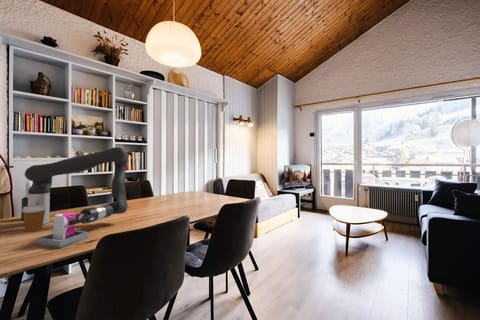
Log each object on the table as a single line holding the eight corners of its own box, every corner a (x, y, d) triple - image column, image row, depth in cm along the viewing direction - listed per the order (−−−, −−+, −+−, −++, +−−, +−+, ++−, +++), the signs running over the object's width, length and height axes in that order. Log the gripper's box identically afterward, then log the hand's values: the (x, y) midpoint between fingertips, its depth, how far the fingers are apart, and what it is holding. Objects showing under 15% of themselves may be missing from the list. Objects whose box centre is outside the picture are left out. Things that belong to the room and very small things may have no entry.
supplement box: (63, 242, 100) (63, 216, 100) (52, 240, 101) (53, 215, 101) (75, 237, 105) (76, 213, 105) (65, 236, 107) (66, 212, 107)
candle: (36, 218, 138) (37, 177, 138) (25, 220, 133) (26, 178, 133) (30, 217, 140) (31, 177, 140) (20, 219, 135) (21, 177, 135)
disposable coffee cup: (44, 230, 117) (45, 207, 117) (19, 233, 112) (19, 209, 112) (47, 226, 125) (47, 204, 125) (23, 228, 119) (24, 205, 119)
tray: (37, 245, 98) (37, 238, 98) (66, 235, 111) (66, 229, 111) (60, 248, 95) (60, 241, 95) (88, 238, 108) (88, 232, 108)
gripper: (82, 205, 120) (50, 212, 104) (104, 208, 116) (74, 215, 100) (82, 220, 120) (49, 229, 104) (104, 222, 116) (74, 232, 101)
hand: (62, 222), depth 102 cm, fingers open, 8 cm apart
